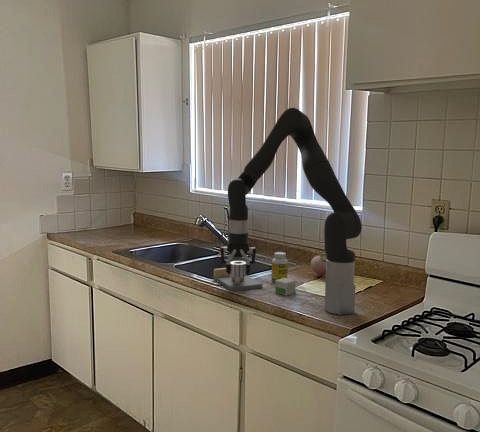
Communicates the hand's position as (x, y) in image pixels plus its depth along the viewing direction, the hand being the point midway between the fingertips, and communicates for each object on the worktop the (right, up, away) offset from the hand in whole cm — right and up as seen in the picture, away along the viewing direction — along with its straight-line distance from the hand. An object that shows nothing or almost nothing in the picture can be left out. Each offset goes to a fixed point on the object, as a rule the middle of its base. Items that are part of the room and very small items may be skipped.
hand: (237, 273), depth 190 cm
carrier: (0, -5, +6) cm, 8 cm away
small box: (+18, -7, -5) cm, 20 cm away
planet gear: (0, -1, 0) cm, 1 cm away
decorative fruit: (+35, -4, +20) cm, 40 cm away
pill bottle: (+17, -5, +11) cm, 21 cm away
